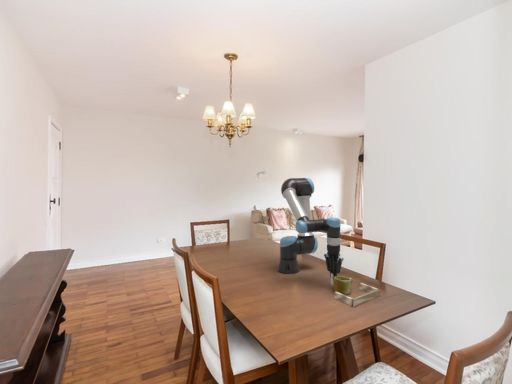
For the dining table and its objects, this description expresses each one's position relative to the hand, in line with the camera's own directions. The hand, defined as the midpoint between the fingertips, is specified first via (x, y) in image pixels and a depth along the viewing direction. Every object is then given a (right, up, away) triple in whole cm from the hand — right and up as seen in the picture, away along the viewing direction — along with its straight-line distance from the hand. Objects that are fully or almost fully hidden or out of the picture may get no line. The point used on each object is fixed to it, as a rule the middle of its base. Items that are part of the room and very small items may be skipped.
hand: (333, 283), depth 163 cm
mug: (+4, -3, -6) cm, 8 cm away
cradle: (+9, -3, -13) cm, 17 cm away
